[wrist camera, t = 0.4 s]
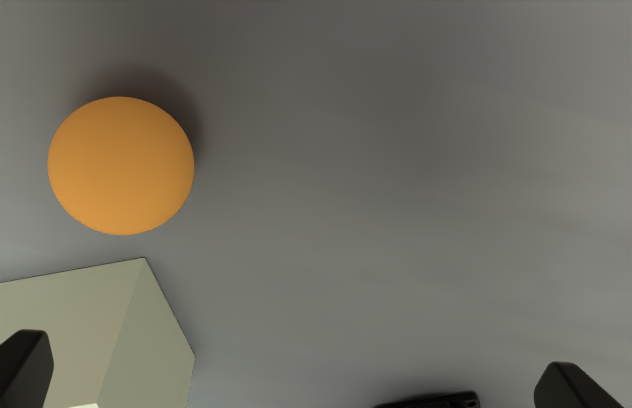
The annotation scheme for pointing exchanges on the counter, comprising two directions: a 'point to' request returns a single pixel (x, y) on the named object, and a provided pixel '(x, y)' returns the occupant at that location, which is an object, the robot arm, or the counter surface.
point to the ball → (121, 165)
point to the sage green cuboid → (104, 336)
